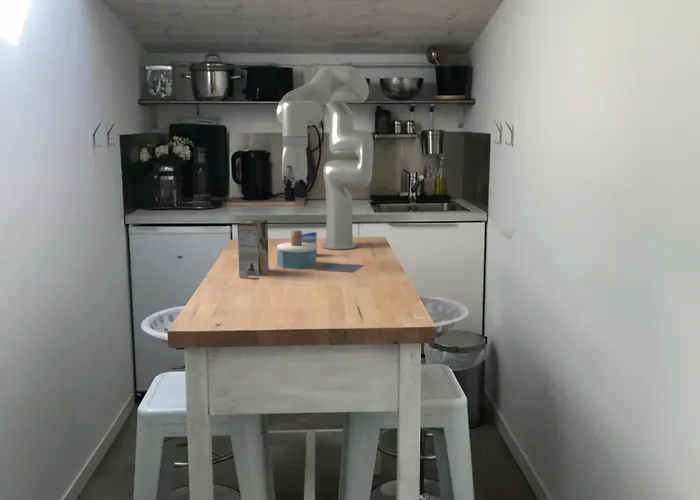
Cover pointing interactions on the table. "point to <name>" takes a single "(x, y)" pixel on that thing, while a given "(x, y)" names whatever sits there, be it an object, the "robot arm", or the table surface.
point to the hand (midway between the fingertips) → (296, 199)
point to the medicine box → (310, 238)
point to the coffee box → (252, 248)
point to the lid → (296, 244)
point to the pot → (296, 259)
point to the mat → (339, 267)
